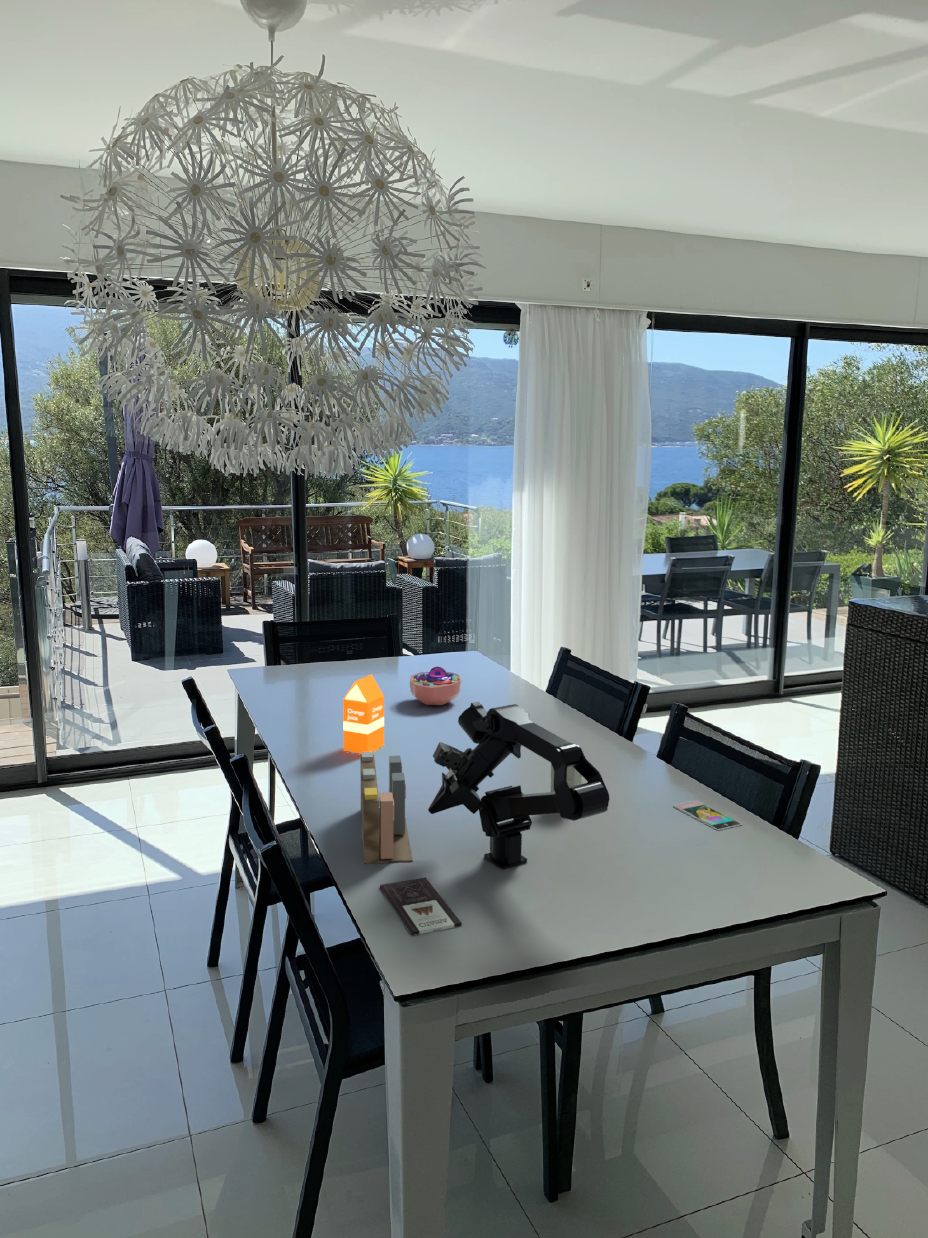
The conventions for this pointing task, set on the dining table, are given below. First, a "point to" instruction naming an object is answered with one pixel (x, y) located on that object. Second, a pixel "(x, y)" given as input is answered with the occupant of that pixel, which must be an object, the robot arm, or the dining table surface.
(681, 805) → the smartphone
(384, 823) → the terracotta key
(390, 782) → the key
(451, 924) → the chocolate bar
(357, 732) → the orange juice
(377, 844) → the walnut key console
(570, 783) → the skincare box
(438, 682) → the cell model
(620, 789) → the dining table surface
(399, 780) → the middle slate key
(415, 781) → the dining table surface
